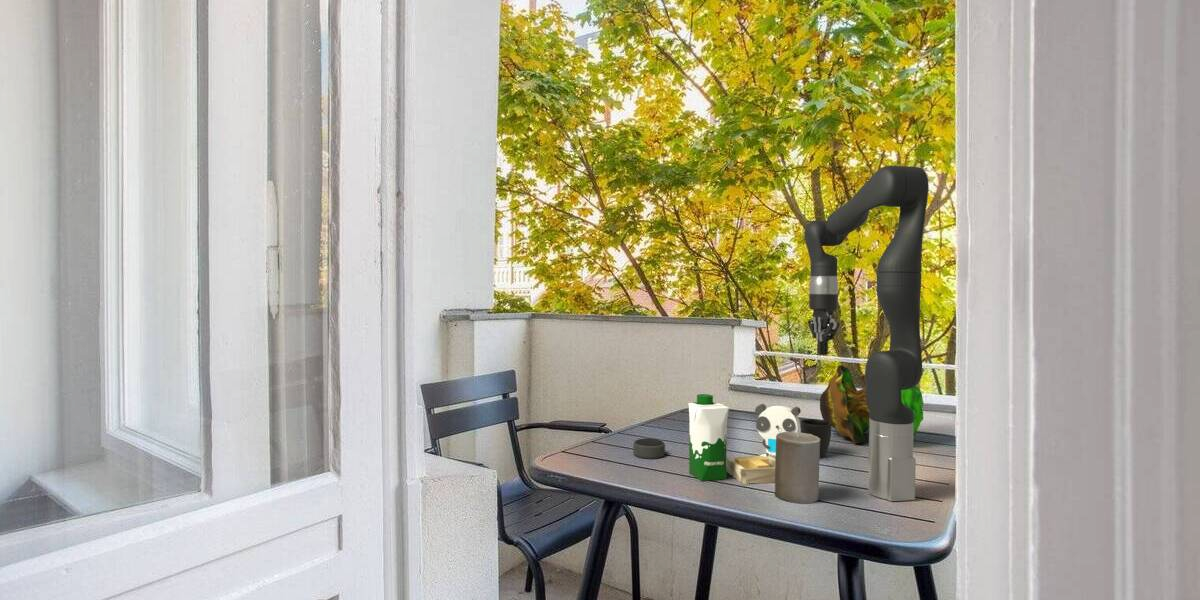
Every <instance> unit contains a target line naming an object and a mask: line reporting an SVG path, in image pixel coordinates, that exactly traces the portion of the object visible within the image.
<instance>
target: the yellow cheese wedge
mask: <svg viewBox="0 0 1200 600" xmlns="http://www.w3.org/2000/svg"><path fill="white" fill-rule="evenodd" d="M733 460H734V461H735V462H737V463H738V464H739V465H741V466H742V467H743V468H745V469H746V468H768V467H769V459H768V458H766V457H764V456H760V455H755V456H754V455H753V456H735V457H734V458H733Z"/></svg>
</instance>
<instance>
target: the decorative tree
mask: <svg viewBox="0 0 1200 600" xmlns="http://www.w3.org/2000/svg"><path fill="white" fill-rule="evenodd" d="M920 389H921V388H919V387H918V386H917V385H916V386H915V387H913V388H911V389H906V390H901V397H902V403H903V404H904V405H905V406H907V407H909V408H911V409H912V410H913V412H914V434H913V438H915V436H916V435H917V432H918V429H919V427H920V425H921V423H922V421H923V420H924V418H925V417H924V412H923V411H924V410H923V407H924V398H923V393H922V391H921V390H920ZM819 410H820V414H821V418H822V420H824V421H828V422H830V423H831V428H834V429H835V430H837V432H838V434H839V436H840V437H848V438H850V440H852V442H853V444H854V445H857V444H861V443H864V442H865V439H866V437H865V433H866V432H867V431H869V430H868V429H869V410H868V407H867V404H866V391H865V386H864V387H863V388H860V389H859V390H858V389H857V388H856V386H855V384H854V380H853V375H852V373H851V370H850V369H849V368H848V367H845V366H844V365H843V364H838V365H837V367H836V372H835V374H834V375H833V376H832V377H831V378H830V379H829V380H828V385H827V387H826V388H825V389H824V391H823V392H822V393H821V394H820V398H819Z"/></svg>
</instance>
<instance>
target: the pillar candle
mask: <svg viewBox="0 0 1200 600" xmlns="http://www.w3.org/2000/svg"><path fill="white" fill-rule="evenodd" d="M820 460H821V458H820V438H818V437H816V436H814V435H811V434H806V433H801V431H800V432H798V431H797V432H782V433H778V434H777V435H776V458H775V483H774V496H775V497H776V498H777V497H778V498H777V499H780V500H782V501H784V500H785V502H788V501H790V503H792V502H796V503H795V504H805V505H806V504H813V503H816V502H817V501H819V493H820V492H819V489H820V488H819V487H820Z"/></svg>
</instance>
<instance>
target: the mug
mask: <svg viewBox="0 0 1200 600" xmlns="http://www.w3.org/2000/svg"><path fill="white" fill-rule="evenodd" d="M799 422H800V433H806V434H811V435H814V436H816V437H818V438H820V459H824V458H826V457H827V453H828V450H829V446H830V443H831V437H832V427H831V423H830V422H828V421H824V420H823V419H817V418H816V419H815V418H814V419H813V418H809V419H807V418H801V419H800V420H799Z"/></svg>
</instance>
